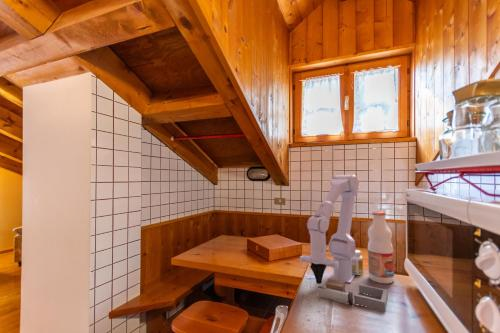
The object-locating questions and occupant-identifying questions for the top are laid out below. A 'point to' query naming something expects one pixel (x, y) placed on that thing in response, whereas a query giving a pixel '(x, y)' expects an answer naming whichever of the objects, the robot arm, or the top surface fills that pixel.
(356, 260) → the supplement bottle
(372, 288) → the cradle
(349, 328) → the top surface
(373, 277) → the fruit juice
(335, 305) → the top surface
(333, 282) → the link block
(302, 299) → the top surface
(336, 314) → the top surface
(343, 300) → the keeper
